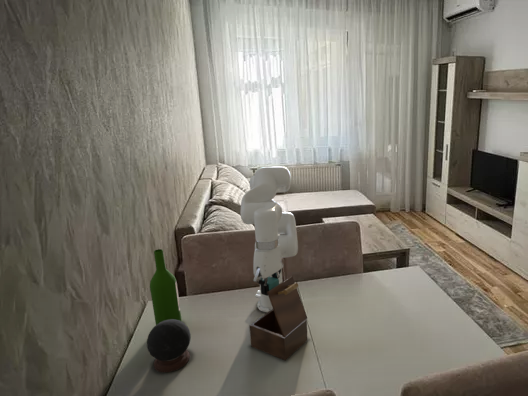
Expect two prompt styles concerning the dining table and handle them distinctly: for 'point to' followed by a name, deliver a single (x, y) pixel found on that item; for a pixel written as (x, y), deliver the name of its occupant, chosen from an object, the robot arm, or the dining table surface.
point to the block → (272, 282)
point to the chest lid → (287, 305)
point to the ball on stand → (169, 345)
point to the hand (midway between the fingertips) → (270, 290)
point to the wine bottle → (164, 291)
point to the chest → (276, 336)
